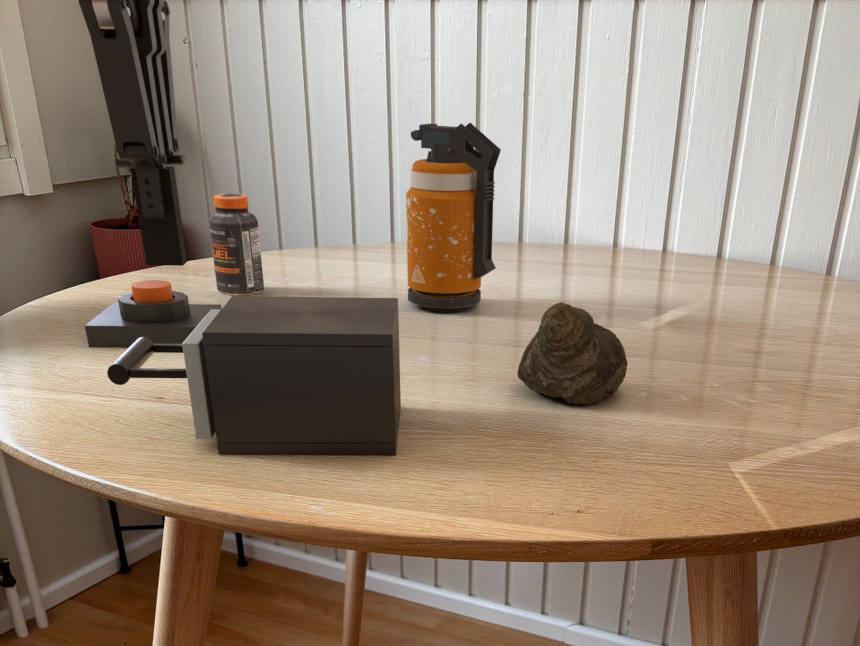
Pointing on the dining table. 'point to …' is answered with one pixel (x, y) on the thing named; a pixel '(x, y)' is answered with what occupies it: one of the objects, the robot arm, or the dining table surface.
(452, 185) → the canister
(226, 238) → the pill bottle
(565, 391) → the seashell
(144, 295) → the button
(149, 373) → the dispenser drawer
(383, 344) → the drawer cabinet
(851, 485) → the dining table surface
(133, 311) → the control block
